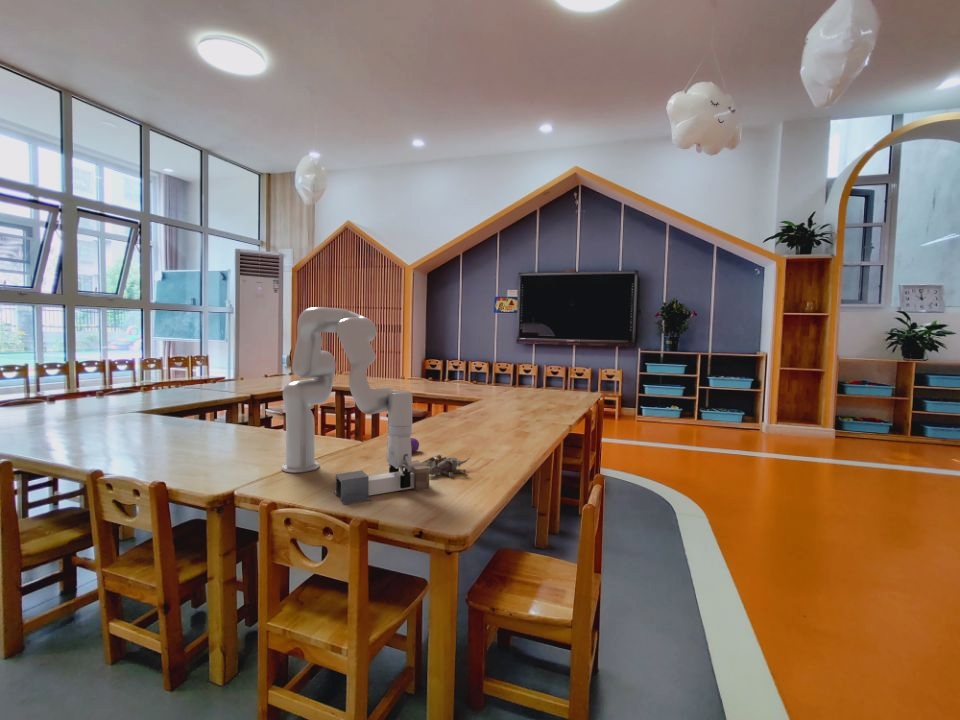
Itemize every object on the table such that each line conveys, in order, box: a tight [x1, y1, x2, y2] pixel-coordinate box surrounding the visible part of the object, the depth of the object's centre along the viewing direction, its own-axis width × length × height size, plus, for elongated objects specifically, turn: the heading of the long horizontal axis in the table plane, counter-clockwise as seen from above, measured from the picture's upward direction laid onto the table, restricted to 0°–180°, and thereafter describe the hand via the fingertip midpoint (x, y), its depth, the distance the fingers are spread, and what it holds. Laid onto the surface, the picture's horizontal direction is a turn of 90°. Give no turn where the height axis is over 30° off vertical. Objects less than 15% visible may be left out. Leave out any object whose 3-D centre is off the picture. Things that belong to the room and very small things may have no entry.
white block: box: [368, 470, 414, 497], centre depth 149 cm, size 5×18×5 cm, turn 121°
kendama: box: [411, 437, 420, 454], centre depth 189 cm, size 6×6×20 cm
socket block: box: [404, 460, 430, 492], centre depth 154 cm, size 9×4×7 cm, turn 31°
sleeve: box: [333, 470, 372, 506], centre depth 143 cm, size 11×8×7 cm
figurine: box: [421, 454, 471, 478], centre depth 170 cm, size 20×6×17 cm
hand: (399, 482), depth 151 cm, fingers open, 9 cm apart
